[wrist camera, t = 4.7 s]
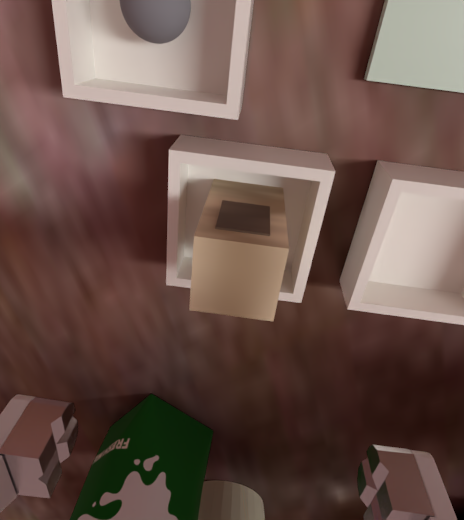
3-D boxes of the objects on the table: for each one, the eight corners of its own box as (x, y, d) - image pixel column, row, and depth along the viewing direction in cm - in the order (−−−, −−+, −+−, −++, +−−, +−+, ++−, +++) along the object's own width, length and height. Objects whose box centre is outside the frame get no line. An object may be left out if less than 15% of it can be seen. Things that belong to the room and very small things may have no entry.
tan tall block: (283, 186, 22) (289, 246, 16) (271, 247, 24) (273, 321, 18) (212, 176, 22) (191, 233, 16) (207, 239, 24) (187, 309, 18)
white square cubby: (327, 153, 21) (335, 171, 18) (297, 275, 25) (301, 303, 23) (180, 134, 21) (168, 149, 19) (176, 258, 25) (166, 284, 23)
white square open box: (265, -101, 16) (265, -125, 13) (241, 107, 20) (237, 119, 18) (70, -125, 16) (33, -153, 13) (88, 88, 20) (63, 97, 18)
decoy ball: (197, -32, 17) (185, -42, 14) (194, 46, 18) (182, 49, 16) (130, -40, 17) (106, -52, 14) (132, 38, 18) (111, 40, 16)
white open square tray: (525, 179, 21) (561, 201, 18) (461, 297, 25) (483, 327, 23) (377, 160, 21) (392, 179, 18) (339, 280, 25) (347, 309, 23)
